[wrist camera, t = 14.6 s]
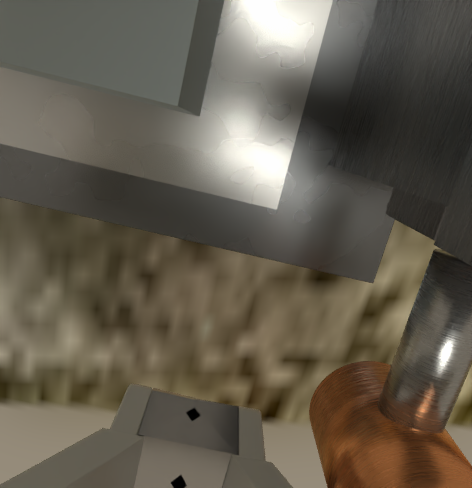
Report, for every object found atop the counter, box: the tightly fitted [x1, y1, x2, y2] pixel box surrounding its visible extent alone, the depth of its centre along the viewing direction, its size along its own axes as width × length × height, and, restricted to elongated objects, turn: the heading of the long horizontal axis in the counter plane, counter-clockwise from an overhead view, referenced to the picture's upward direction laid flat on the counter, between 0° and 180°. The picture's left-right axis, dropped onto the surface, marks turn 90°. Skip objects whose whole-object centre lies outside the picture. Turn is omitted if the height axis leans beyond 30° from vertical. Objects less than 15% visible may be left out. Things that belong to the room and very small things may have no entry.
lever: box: [309, 249, 472, 488], centre depth 9 cm, size 3×6×4 cm, turn 167°
